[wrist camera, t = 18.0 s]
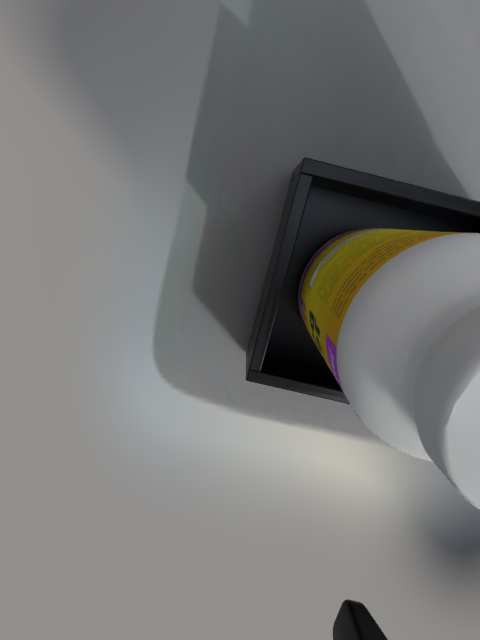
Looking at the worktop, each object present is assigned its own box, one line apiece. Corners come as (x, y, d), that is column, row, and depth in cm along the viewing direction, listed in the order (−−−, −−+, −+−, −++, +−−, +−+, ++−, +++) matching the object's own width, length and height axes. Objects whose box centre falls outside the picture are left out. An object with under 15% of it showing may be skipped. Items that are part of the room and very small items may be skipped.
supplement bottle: (270, 287, 19) (312, 409, 6) (371, 199, 18) (668, 139, 5) (347, 374, 20) (509, 619, 8) (447, 298, 19) (838, 442, 6)
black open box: (246, 354, 20) (245, 381, 17) (293, 170, 18) (303, 157, 14) (414, 393, 21) (446, 426, 17) (484, 218, 18) (540, 216, 15)
